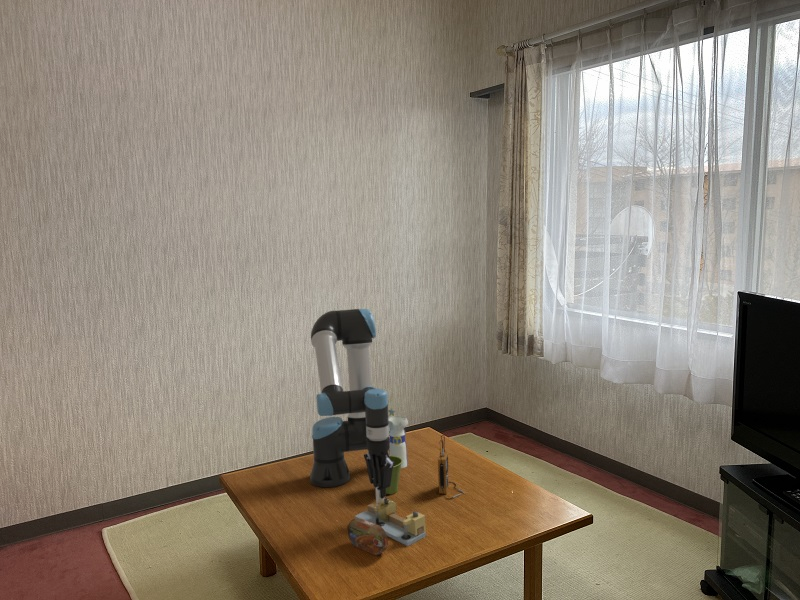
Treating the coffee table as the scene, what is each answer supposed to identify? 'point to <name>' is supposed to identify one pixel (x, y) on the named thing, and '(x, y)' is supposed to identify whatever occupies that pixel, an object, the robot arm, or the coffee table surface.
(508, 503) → the coffee table surface
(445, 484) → the multimeter
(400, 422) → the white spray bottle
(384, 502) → the slider
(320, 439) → the robot arm
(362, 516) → the linear rail with blocks
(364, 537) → the tin
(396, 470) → the plant pot
